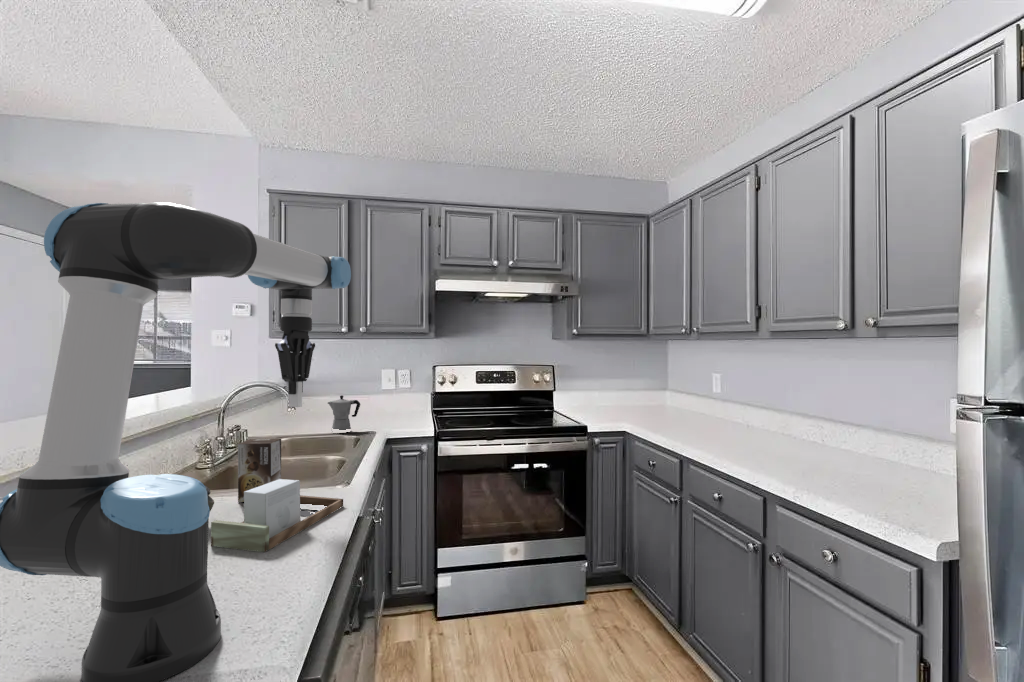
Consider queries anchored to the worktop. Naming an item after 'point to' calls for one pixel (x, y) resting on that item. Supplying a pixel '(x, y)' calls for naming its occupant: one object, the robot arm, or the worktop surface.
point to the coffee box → (258, 464)
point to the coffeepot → (342, 412)
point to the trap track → (267, 528)
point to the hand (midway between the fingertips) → (295, 406)
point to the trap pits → (306, 513)
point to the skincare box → (273, 505)
